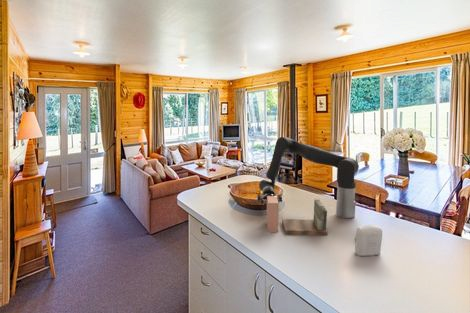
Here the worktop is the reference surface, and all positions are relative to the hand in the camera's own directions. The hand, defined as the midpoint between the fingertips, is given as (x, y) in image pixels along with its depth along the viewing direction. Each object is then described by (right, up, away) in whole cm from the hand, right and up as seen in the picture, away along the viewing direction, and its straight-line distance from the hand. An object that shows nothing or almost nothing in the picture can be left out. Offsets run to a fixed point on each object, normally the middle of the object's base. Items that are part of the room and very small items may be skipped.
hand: (270, 202), depth 147 cm
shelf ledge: (+15, -11, -14) cm, 23 cm away
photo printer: (+36, -15, -38) cm, 54 cm away
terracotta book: (-1, -11, -12) cm, 16 cm away
